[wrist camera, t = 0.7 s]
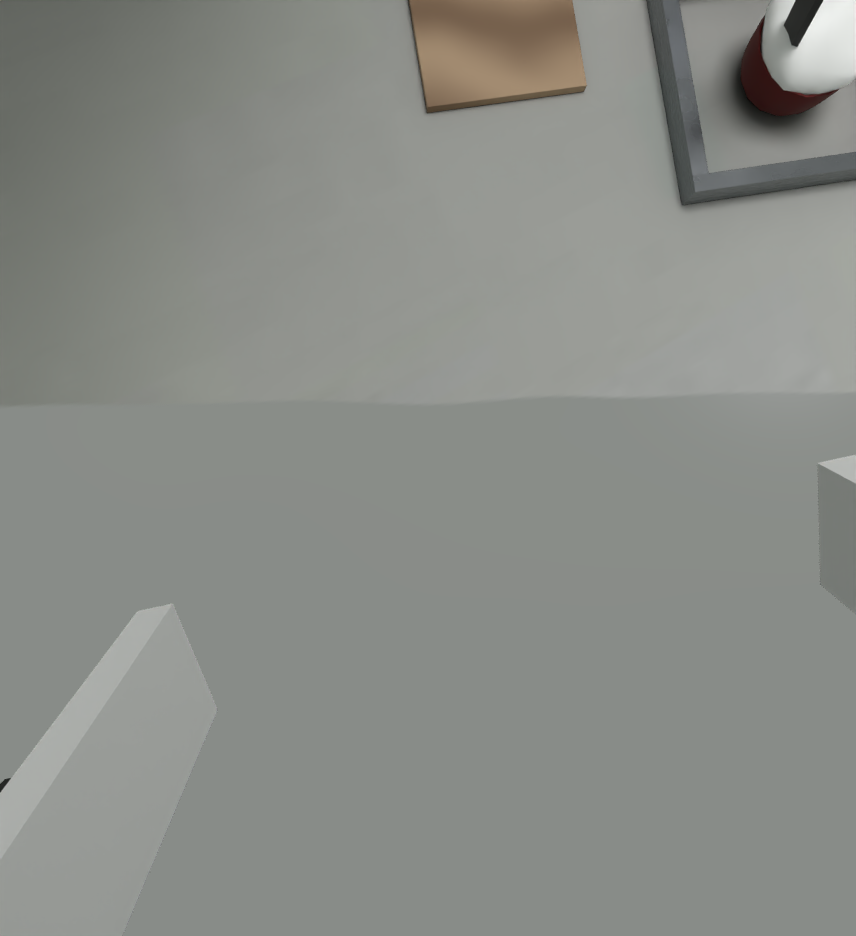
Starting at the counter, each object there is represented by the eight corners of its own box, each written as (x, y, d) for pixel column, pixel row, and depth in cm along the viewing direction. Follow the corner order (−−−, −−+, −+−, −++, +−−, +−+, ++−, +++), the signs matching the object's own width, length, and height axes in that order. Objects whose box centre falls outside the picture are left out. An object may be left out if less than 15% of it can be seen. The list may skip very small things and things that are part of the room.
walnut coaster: (400, -45, 39) (400, -53, 39) (557, -64, 40) (559, -73, 39) (427, 112, 39) (427, 107, 38) (583, 91, 39) (586, 85, 39)
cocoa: (831, 45, 41) (1022, -145, 29) (833, 138, 40) (1027, -15, 29) (692, 31, 40) (829, -170, 28) (692, 126, 40) (831, -36, 28)
